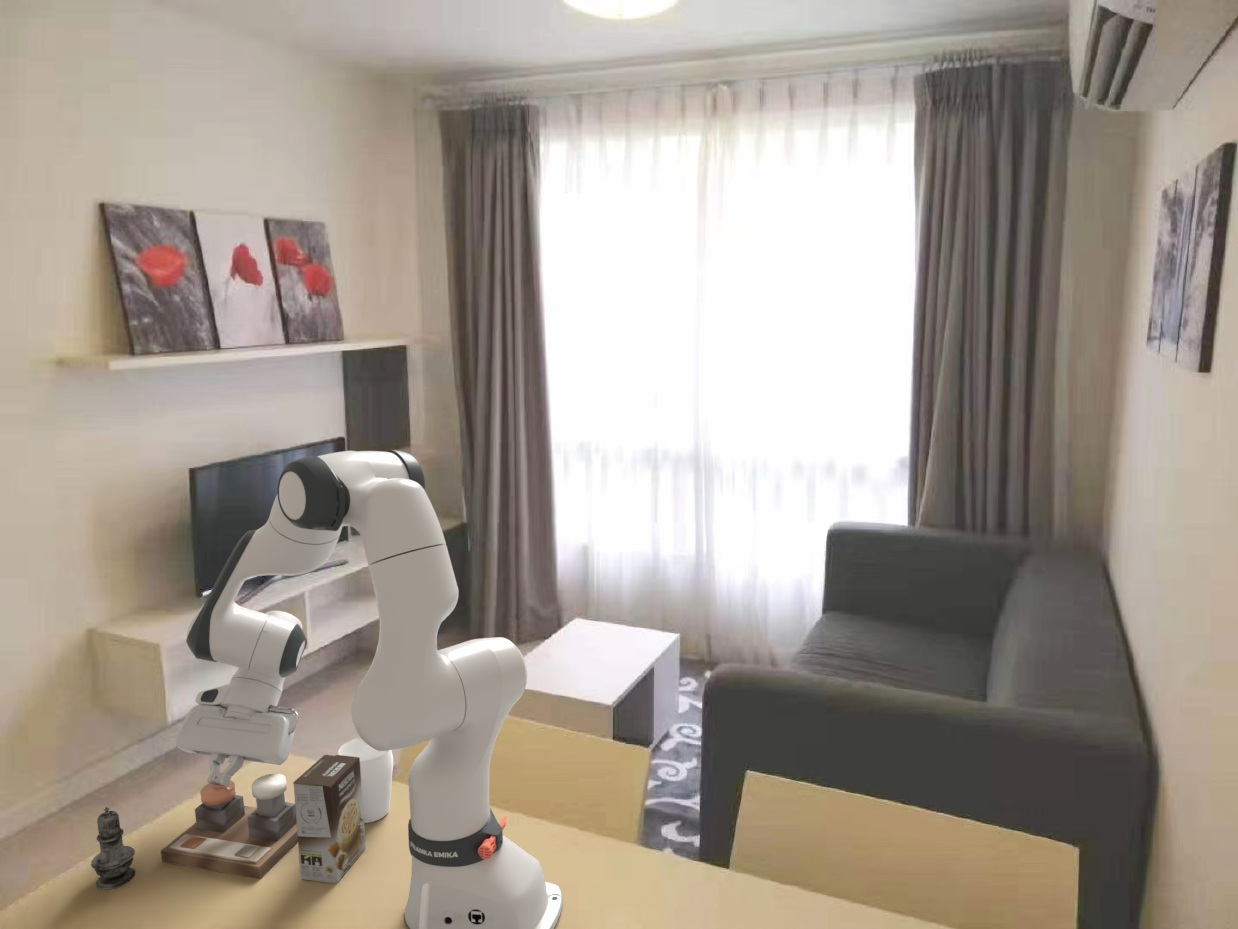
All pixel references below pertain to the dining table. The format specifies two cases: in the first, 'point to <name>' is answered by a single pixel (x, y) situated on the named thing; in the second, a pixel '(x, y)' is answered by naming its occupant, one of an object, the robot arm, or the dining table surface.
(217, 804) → the terracotta button
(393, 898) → the dining table surface
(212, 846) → the pattern board
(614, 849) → the dining table surface
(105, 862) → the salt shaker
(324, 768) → the coffee box
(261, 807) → the white button
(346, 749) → the cup
